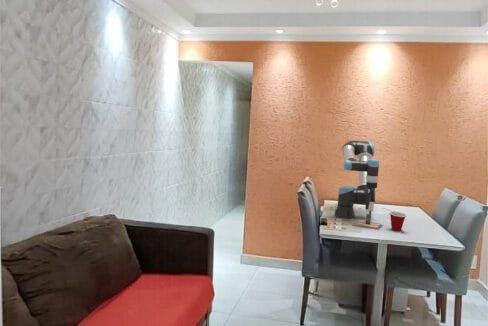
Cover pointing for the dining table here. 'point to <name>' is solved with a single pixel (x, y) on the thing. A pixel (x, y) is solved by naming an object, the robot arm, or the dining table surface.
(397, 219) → the plastic cup
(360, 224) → the lid
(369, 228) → the mat
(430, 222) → the dining table surface
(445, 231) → the dining table surface
